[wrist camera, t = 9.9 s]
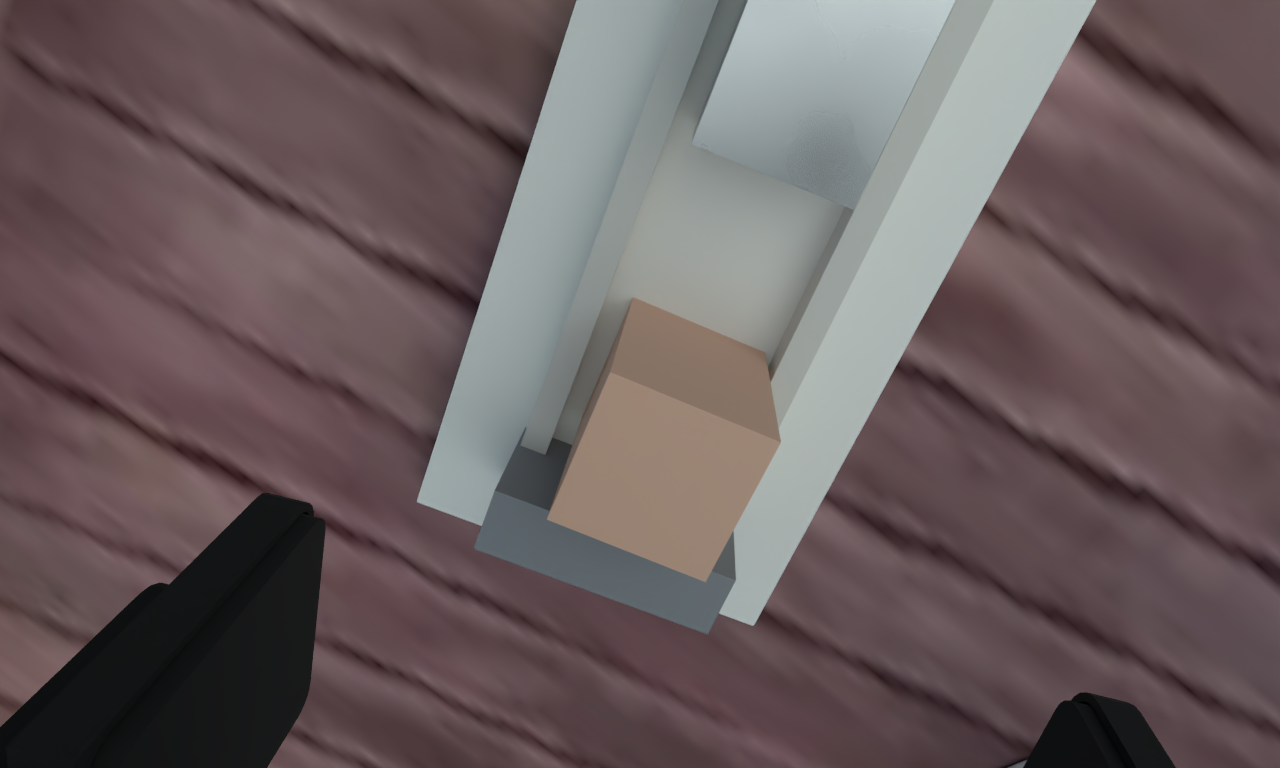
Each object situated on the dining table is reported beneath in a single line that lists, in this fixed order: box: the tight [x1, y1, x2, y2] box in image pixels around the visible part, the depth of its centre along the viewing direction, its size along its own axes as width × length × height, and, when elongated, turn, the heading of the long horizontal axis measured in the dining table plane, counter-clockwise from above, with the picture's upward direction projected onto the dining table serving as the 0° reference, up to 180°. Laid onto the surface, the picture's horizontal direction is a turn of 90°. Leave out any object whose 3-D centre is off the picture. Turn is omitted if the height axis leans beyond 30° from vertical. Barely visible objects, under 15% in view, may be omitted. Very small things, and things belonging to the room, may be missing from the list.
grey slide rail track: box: [417, 0, 1096, 634], centre depth 20 cm, size 12×34×5 cm, turn 159°
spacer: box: [547, 297, 781, 582], centre depth 22 cm, size 4×4×6 cm
